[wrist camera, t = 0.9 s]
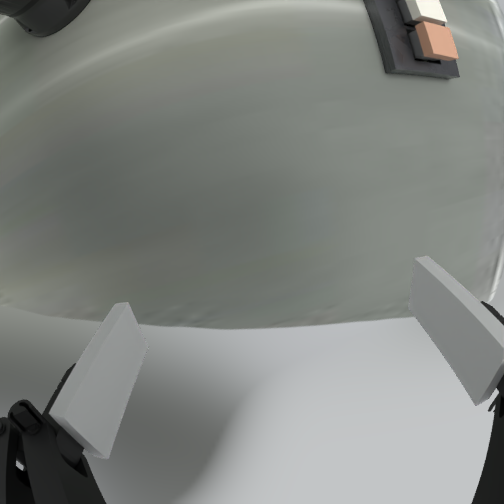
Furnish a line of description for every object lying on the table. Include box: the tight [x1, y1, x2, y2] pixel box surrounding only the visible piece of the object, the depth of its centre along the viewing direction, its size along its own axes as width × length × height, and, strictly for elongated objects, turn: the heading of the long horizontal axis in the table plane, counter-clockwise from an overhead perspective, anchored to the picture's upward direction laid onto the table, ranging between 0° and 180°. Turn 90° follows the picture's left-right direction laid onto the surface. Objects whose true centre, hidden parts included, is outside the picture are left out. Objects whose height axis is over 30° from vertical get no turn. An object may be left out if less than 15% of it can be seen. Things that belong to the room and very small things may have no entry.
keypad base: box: [364, 0, 460, 79], centre depth 22 cm, size 19×12×3 cm, turn 11°
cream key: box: [396, 0, 447, 26], centre depth 19 cm, size 5×5×5 cm
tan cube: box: [407, 21, 459, 61], centre depth 21 cm, size 5×5×5 cm
